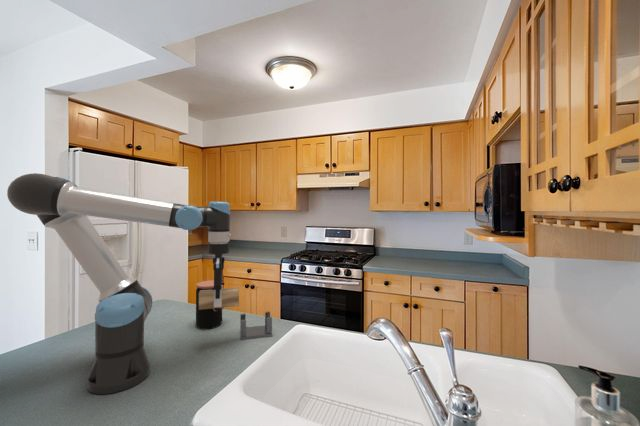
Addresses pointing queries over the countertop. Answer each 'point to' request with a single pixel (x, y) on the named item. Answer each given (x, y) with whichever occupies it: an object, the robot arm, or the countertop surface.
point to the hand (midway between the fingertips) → (218, 304)
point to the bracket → (255, 328)
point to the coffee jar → (207, 316)
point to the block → (228, 298)
